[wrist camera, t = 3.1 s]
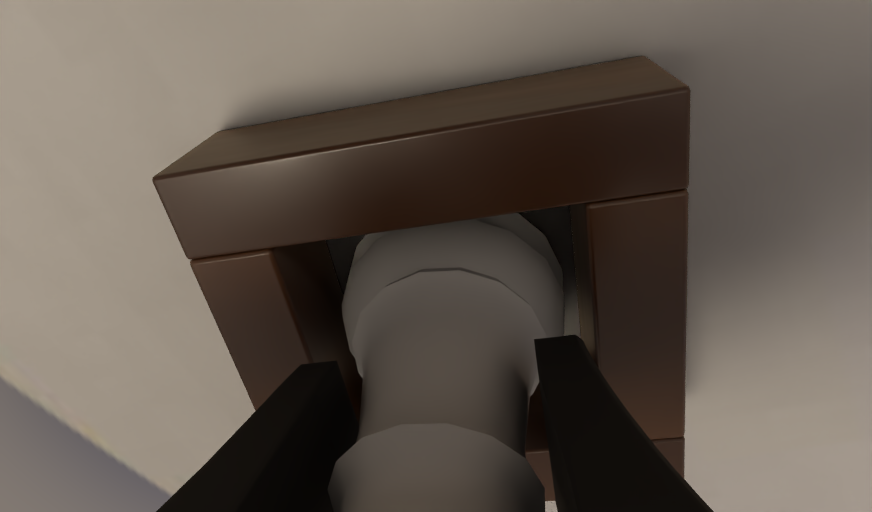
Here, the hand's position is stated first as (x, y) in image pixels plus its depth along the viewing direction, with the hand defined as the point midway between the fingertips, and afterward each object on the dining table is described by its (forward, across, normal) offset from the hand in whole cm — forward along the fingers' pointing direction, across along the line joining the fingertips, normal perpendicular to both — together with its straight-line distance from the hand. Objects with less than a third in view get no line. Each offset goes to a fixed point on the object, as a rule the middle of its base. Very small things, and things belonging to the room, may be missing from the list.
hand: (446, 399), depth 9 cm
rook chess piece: (+4, 0, 0) cm, 4 cm away
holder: (+4, 0, 0) cm, 4 cm away
